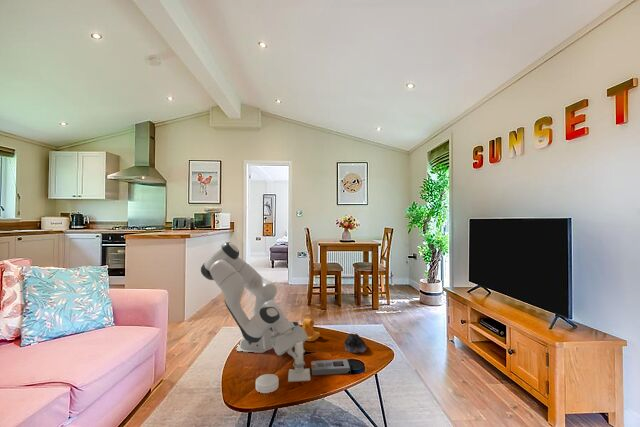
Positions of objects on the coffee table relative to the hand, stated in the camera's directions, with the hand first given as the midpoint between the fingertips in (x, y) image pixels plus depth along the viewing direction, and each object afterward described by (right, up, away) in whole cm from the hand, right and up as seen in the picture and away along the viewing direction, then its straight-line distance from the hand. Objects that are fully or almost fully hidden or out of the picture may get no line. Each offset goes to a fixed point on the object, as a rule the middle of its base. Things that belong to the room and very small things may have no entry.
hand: (299, 355), depth 136 cm
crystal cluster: (+29, -10, +28) cm, 42 cm away
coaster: (-14, -10, -9) cm, 19 cm away
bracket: (+4, -11, +44) cm, 46 cm away
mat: (0, -9, 0) cm, 9 cm away
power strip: (+14, -9, +5) cm, 18 cm away
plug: (0, -7, 0) cm, 7 cm away
